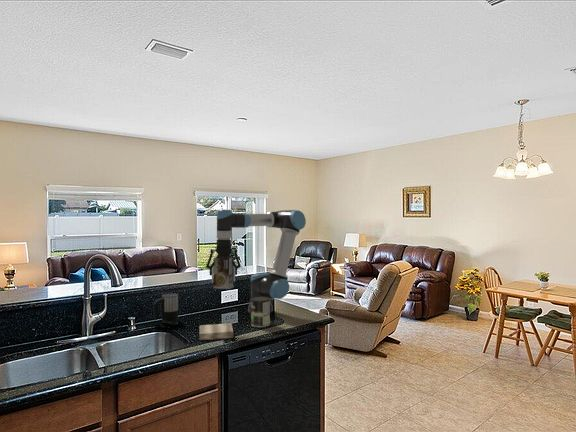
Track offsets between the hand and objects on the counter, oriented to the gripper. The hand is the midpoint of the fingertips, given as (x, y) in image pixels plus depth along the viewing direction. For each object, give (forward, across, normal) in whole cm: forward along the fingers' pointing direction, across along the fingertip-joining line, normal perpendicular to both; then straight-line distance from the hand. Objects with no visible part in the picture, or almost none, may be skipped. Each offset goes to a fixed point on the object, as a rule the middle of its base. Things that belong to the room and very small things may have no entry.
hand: (223, 281), depth 193 cm
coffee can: (+24, +20, +3) cm, 32 cm away
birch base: (+25, -4, -9) cm, 26 cm away
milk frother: (+25, -28, +16) cm, 41 cm away
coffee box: (+4, 0, 0) cm, 4 cm away
